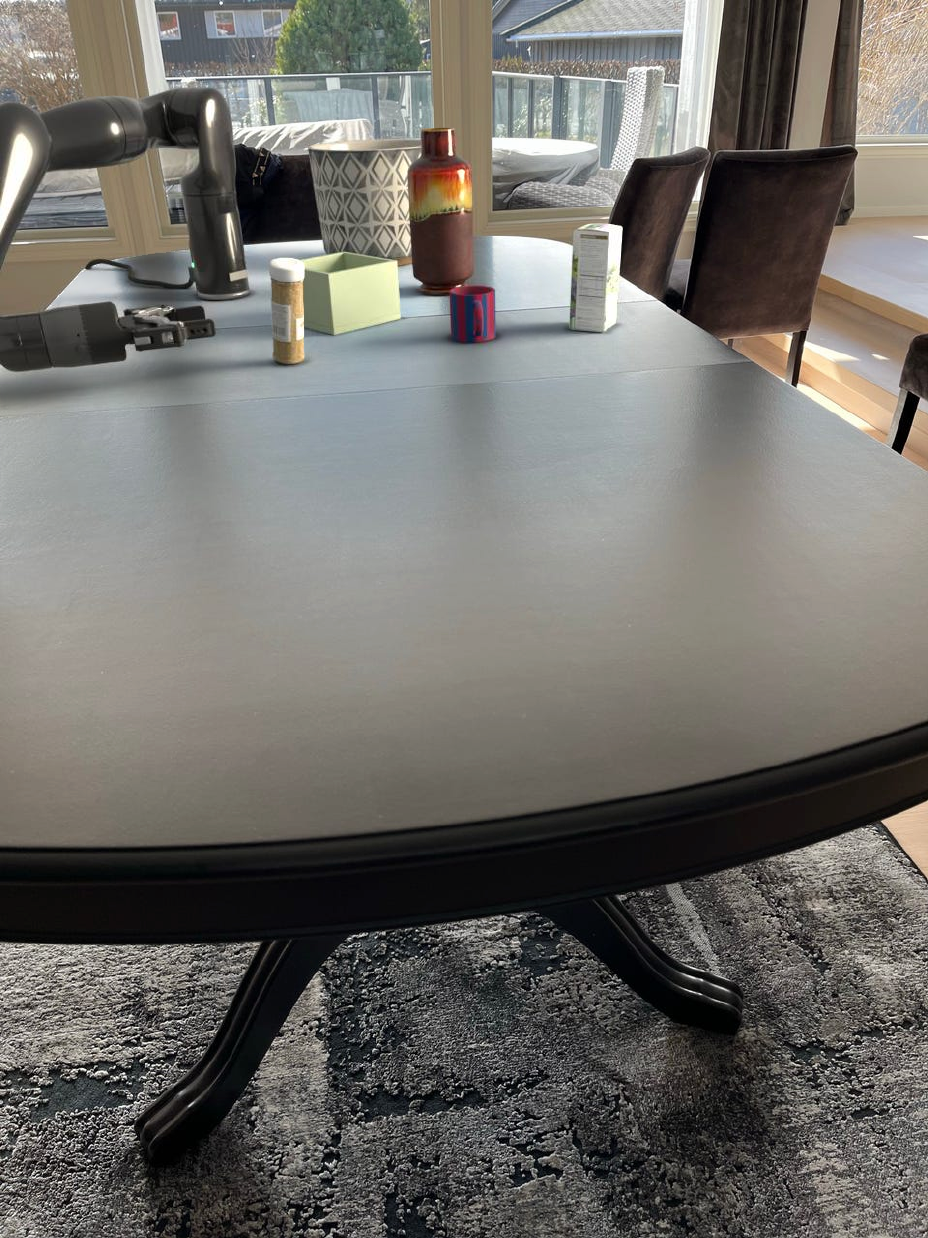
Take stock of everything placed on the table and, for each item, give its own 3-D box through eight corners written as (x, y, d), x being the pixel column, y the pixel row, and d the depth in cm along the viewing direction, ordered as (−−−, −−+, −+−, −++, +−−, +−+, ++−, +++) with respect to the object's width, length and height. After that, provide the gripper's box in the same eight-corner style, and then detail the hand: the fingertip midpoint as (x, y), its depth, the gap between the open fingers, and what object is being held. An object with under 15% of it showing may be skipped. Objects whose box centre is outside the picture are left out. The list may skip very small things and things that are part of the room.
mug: (494, 330, 145) (493, 284, 141) (498, 347, 136) (497, 299, 133) (450, 332, 145) (449, 286, 141) (451, 349, 136) (450, 300, 133)
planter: (391, 245, 214) (384, 137, 203) (469, 258, 197) (466, 141, 186) (295, 262, 199) (282, 146, 188) (370, 278, 182) (361, 152, 171)
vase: (403, 295, 168) (393, 131, 155) (428, 282, 177) (421, 126, 164) (460, 298, 165) (455, 130, 151) (483, 285, 174) (480, 125, 160)
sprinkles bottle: (310, 361, 133) (310, 265, 125) (282, 367, 131) (280, 269, 122) (294, 349, 136) (293, 254, 127) (265, 354, 133) (262, 258, 125)
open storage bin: (283, 321, 154) (276, 263, 149) (349, 306, 162) (344, 251, 157) (334, 335, 145) (328, 274, 141) (400, 318, 153) (397, 260, 149)
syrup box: (581, 321, 148) (584, 222, 141) (617, 324, 146) (622, 223, 138) (568, 330, 144) (571, 228, 136) (605, 333, 141) (610, 229, 134)
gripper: (78, 317, 114) (213, 301, 119) (73, 294, 126) (196, 281, 131) (93, 378, 118) (223, 361, 123) (86, 351, 129) (205, 336, 134)
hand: (209, 320), depth 127 cm, fingers open, 8 cm apart
